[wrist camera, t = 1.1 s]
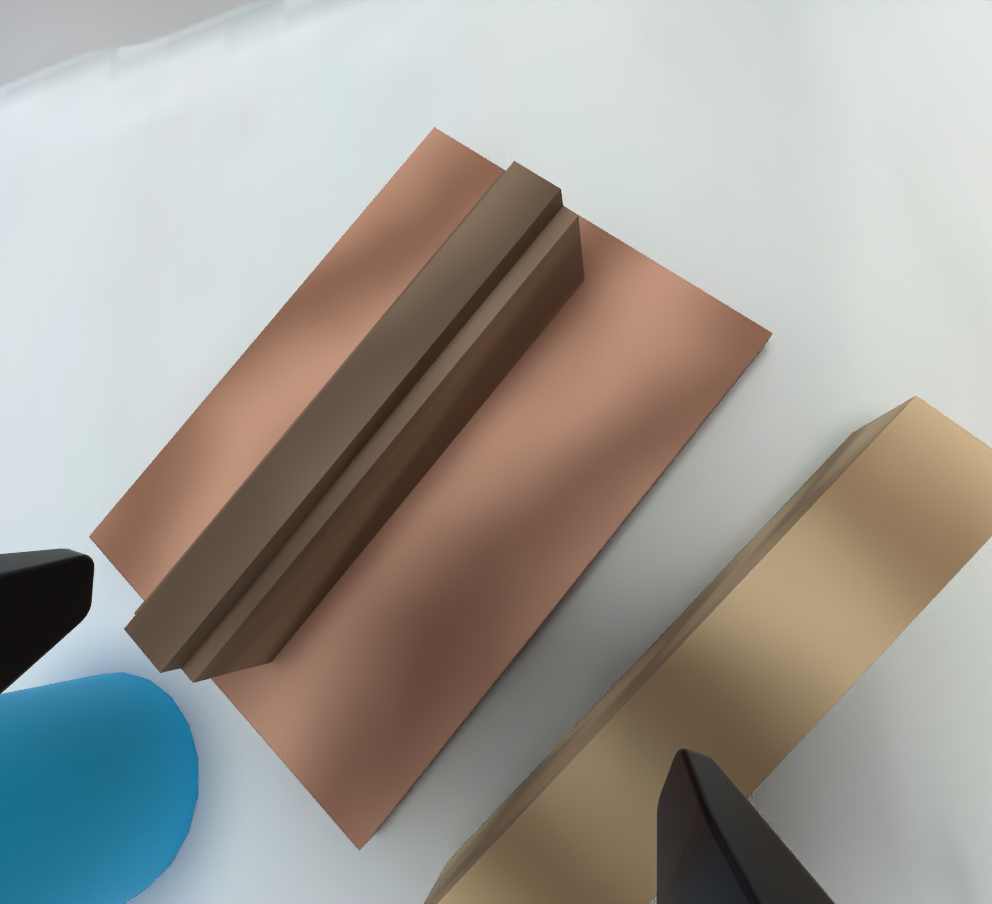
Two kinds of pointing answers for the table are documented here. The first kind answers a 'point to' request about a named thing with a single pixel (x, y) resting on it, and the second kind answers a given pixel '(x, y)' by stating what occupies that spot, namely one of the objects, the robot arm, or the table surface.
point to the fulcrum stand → (416, 469)
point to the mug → (92, 789)
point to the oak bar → (743, 663)
